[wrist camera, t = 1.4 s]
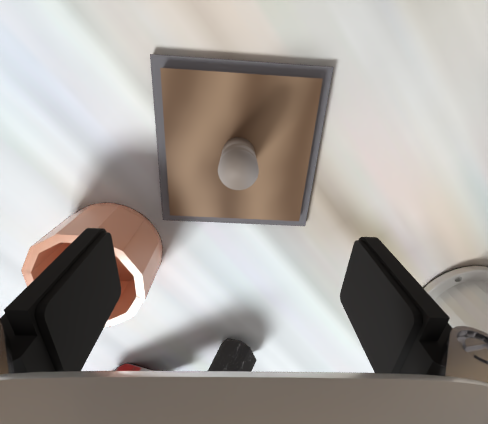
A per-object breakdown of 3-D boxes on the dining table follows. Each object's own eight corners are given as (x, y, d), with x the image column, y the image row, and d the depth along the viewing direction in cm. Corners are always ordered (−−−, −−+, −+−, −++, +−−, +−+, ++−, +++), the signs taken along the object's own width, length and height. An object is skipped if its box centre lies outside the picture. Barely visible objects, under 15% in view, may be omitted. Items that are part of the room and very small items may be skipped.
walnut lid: (320, 78, 24) (345, 77, 18) (297, 217, 30) (311, 249, 24) (162, 68, 24) (138, 63, 18) (171, 212, 30) (155, 243, 24)
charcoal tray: (331, 67, 24) (333, 66, 24) (303, 223, 31) (305, 226, 31) (152, 54, 24) (150, 54, 23) (164, 217, 31) (163, 219, 30)
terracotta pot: (159, 205, 30) (137, 237, 24) (165, 283, 35) (149, 327, 28) (57, 200, 29) (7, 232, 23) (77, 280, 34) (41, 325, 28)
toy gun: (142, 324, 48) (67, 416, 36) (246, 342, 37) (186, 482, 25) (156, 342, 50) (89, 436, 39) (258, 365, 39) (208, 504, 28)
